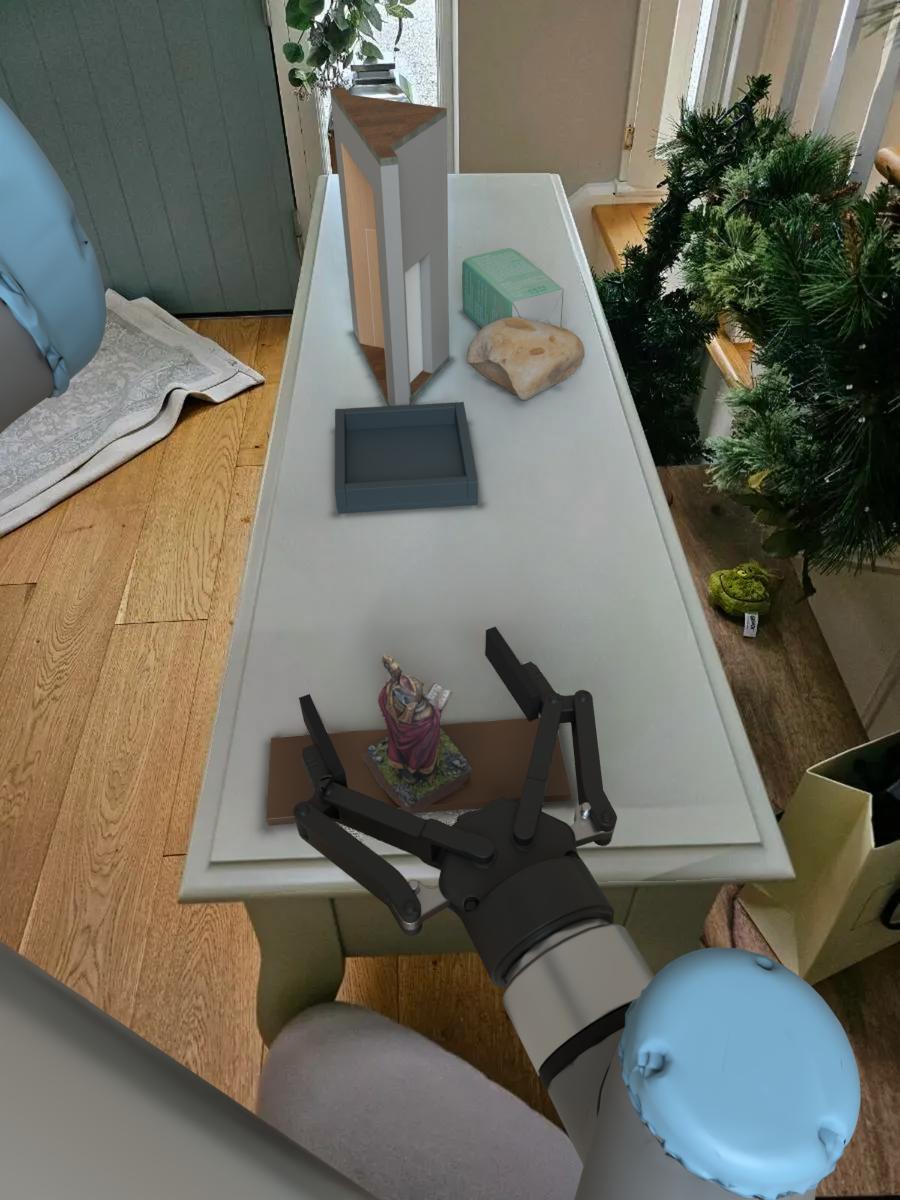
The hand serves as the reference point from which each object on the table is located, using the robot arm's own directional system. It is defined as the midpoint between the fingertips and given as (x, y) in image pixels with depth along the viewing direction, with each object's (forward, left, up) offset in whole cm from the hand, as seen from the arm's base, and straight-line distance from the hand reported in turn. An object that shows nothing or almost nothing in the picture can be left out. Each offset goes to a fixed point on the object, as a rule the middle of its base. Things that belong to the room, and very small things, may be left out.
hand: (401, 672), depth 59 cm
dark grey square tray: (+2, +36, -10) cm, 37 cm away
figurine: (+1, -2, -9) cm, 9 cm away
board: (+1, -2, -10) cm, 10 cm away
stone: (+17, +51, -10) cm, 54 cm away
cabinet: (+4, +55, -10) cm, 56 cm away
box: (+17, +64, -10) cm, 67 cm away
